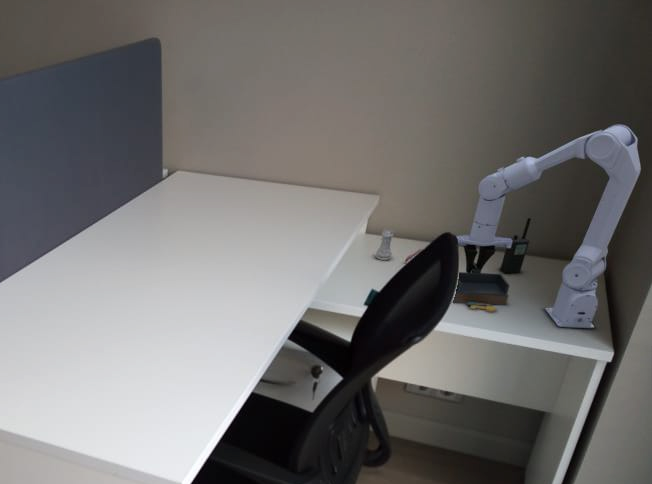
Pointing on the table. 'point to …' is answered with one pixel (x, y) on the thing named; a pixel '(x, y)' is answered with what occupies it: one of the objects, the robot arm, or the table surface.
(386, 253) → the rook chess piece
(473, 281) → the dark grey tray
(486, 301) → the stand
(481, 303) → the teal key
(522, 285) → the table surface
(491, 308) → the brass key
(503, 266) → the walkie-talkie
